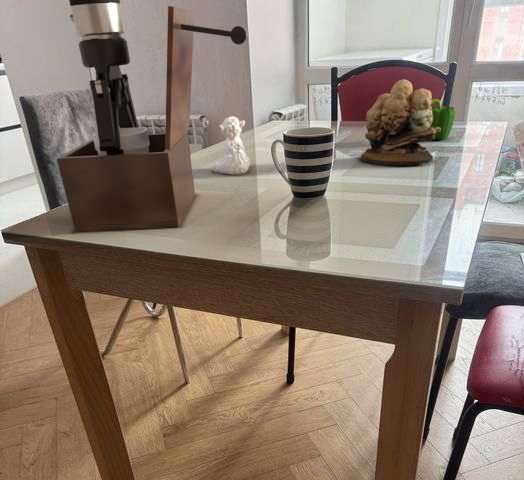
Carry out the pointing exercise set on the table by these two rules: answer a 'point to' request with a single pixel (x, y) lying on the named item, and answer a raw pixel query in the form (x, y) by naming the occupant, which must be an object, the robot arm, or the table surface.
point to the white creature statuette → (232, 149)
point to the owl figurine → (400, 127)
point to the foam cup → (128, 141)
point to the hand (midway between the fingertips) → (129, 182)
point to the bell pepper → (442, 119)
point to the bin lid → (184, 68)
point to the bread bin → (128, 186)
